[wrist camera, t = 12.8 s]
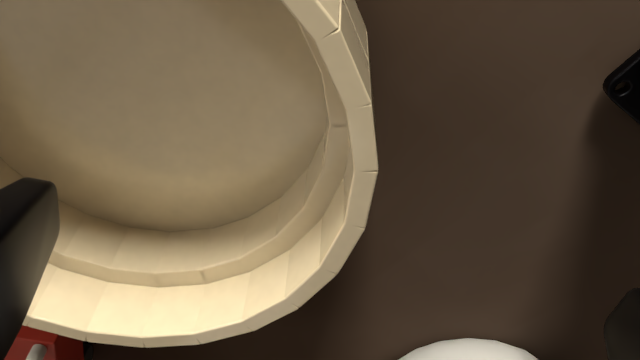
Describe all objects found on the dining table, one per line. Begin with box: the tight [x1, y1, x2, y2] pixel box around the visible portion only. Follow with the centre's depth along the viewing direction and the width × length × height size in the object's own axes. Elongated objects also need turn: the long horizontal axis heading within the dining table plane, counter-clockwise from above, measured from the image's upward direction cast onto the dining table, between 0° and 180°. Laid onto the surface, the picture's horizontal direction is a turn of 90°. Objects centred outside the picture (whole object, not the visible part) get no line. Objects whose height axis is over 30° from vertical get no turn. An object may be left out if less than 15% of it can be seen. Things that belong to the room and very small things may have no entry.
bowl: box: [0, 0, 379, 348], centre depth 18 cm, size 16×16×6 cm
